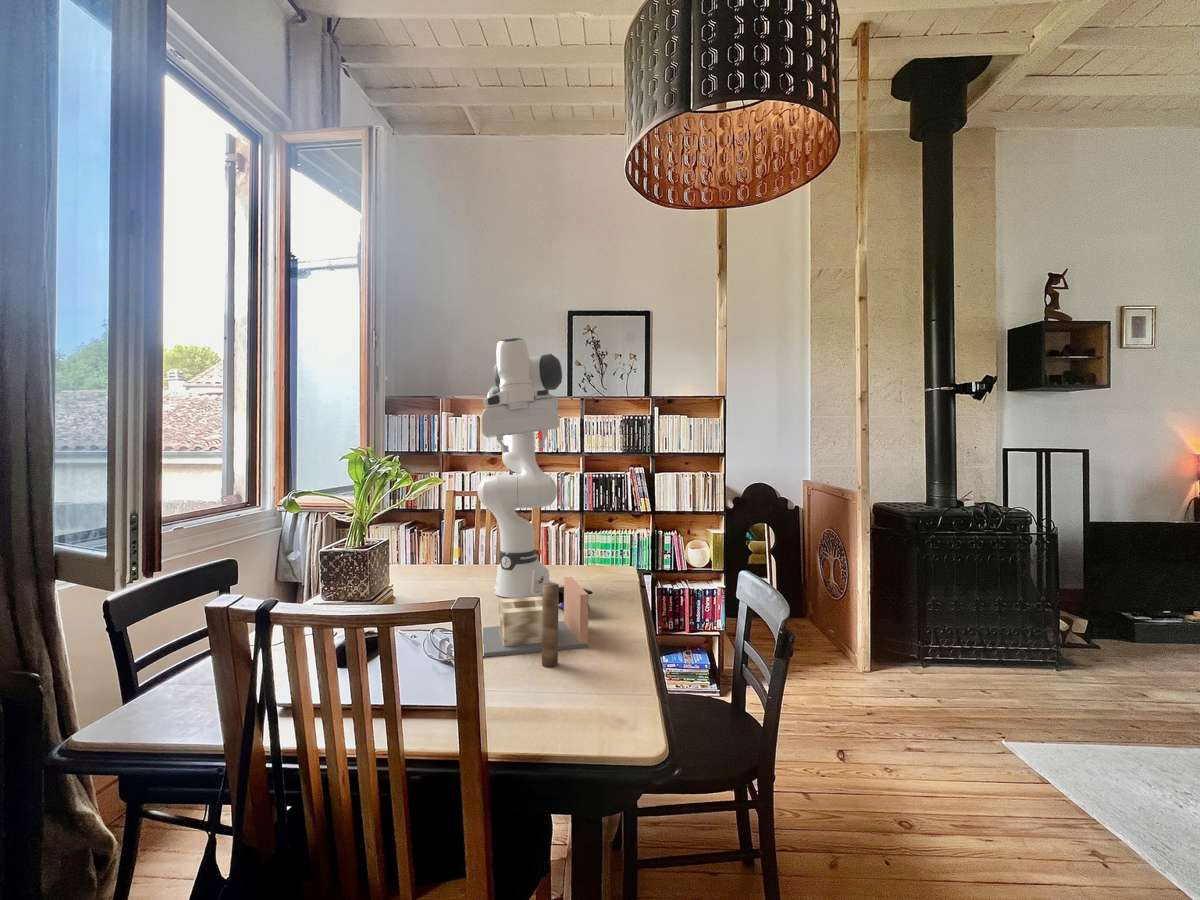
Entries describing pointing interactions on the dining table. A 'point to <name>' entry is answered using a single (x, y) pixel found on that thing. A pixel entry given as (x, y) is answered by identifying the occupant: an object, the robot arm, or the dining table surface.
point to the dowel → (550, 625)
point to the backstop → (569, 630)
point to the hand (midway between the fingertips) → (524, 450)
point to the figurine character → (561, 597)
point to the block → (520, 620)
